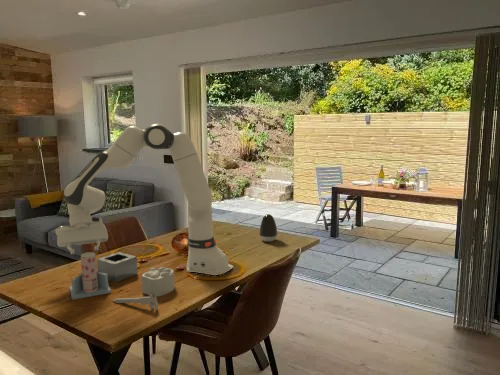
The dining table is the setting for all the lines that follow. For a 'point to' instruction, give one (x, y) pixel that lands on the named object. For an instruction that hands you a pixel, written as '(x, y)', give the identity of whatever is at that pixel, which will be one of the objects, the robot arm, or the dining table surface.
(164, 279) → the lumpy-topped squat cylinder
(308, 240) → the dining table surface
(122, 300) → the caliper
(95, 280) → the beverage can
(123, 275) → the pocket block
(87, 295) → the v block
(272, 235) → the dark grey egg shape
